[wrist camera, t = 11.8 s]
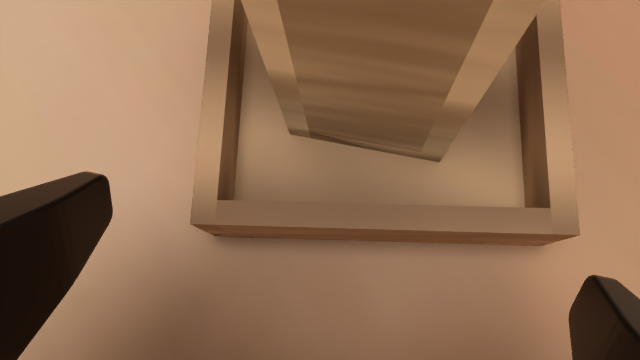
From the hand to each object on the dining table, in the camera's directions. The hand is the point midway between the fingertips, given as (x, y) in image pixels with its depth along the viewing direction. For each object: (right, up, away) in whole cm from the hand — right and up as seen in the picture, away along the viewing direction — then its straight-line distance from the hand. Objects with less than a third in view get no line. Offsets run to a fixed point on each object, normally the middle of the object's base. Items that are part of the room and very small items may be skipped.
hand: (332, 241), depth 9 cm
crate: (+2, +5, +10) cm, 12 cm away
